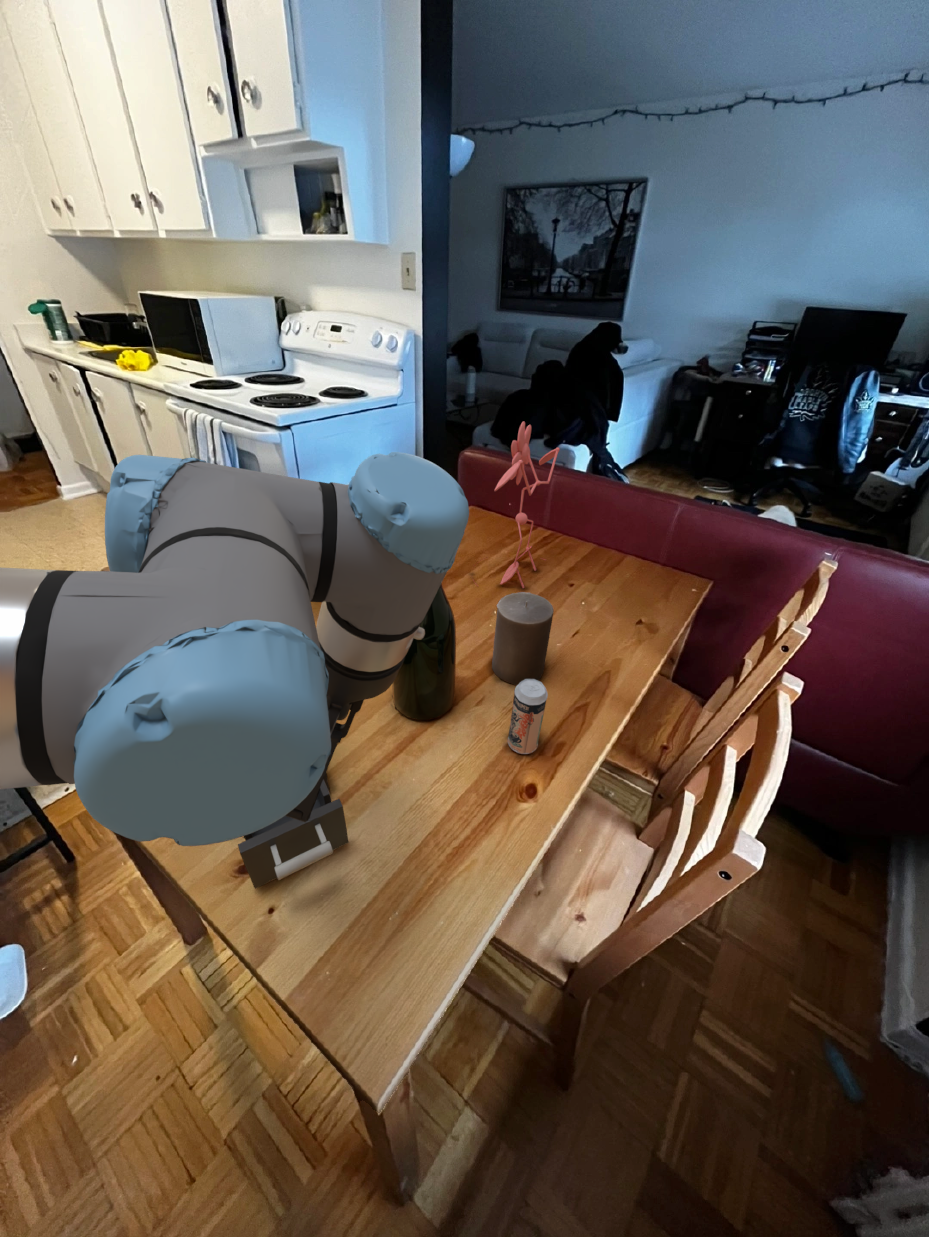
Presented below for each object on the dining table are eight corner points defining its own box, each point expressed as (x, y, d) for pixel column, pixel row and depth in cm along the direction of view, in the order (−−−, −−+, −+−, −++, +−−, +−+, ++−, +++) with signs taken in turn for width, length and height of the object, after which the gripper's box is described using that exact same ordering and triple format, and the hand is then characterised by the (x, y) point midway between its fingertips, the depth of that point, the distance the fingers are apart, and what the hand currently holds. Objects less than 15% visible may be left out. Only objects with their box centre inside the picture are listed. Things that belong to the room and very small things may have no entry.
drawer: (360, 869, 60) (355, 833, 55) (263, 920, 55) (248, 885, 50) (315, 765, 72) (307, 728, 67) (231, 800, 67) (216, 762, 62)
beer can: (502, 736, 79) (509, 680, 72) (528, 728, 80) (538, 673, 73) (515, 759, 75) (524, 703, 68) (543, 751, 77) (555, 695, 70)
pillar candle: (548, 685, 89) (561, 617, 80) (494, 686, 88) (501, 617, 79) (538, 650, 97) (549, 585, 88) (488, 651, 96) (494, 585, 87)
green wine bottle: (441, 730, 79) (446, 544, 60) (382, 712, 82) (368, 529, 63) (462, 687, 88) (473, 512, 68) (408, 672, 90) (403, 499, 71)
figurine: (549, 557, 128) (572, 414, 108) (515, 606, 109) (535, 444, 88) (494, 543, 133) (506, 404, 113) (452, 588, 114) (457, 431, 93)
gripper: (359, 796, 32) (310, 883, 46) (437, 562, 50) (384, 678, 64) (244, 758, 31) (231, 860, 45) (366, 533, 49) (328, 658, 63)
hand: (320, 754), depth 55 cm, fingers open, 13 cm apart
